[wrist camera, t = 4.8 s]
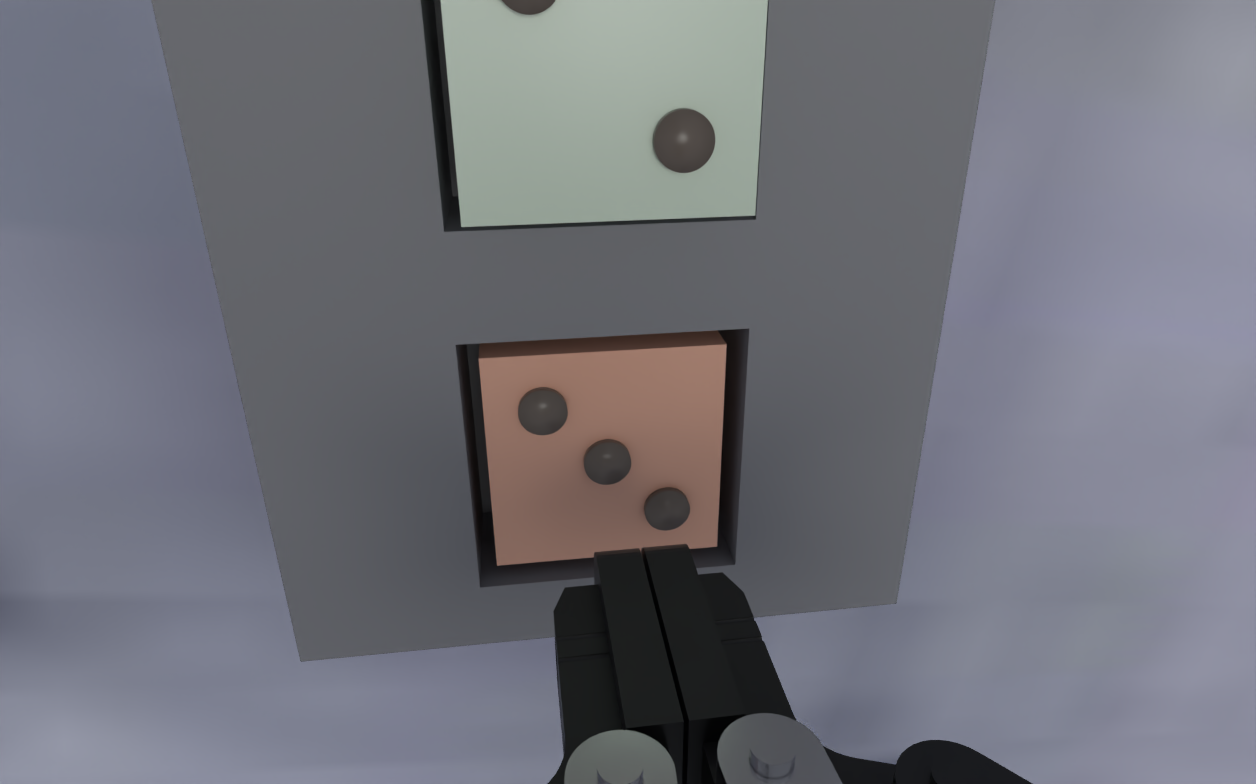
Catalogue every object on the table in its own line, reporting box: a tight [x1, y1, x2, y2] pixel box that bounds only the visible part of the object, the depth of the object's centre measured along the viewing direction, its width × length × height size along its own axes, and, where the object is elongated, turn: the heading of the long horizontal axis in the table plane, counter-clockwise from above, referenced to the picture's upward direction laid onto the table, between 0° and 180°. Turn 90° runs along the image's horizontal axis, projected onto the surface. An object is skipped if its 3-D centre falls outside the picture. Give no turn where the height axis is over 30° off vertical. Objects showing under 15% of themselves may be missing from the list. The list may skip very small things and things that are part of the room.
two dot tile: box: [440, 0, 768, 227], centre depth 14 cm, size 5×5×3 cm
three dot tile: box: [479, 330, 727, 566], centre depth 19 cm, size 5×5×3 cm
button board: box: [152, 0, 995, 662], centre depth 16 cm, size 25×14×4 cm, turn 1°
